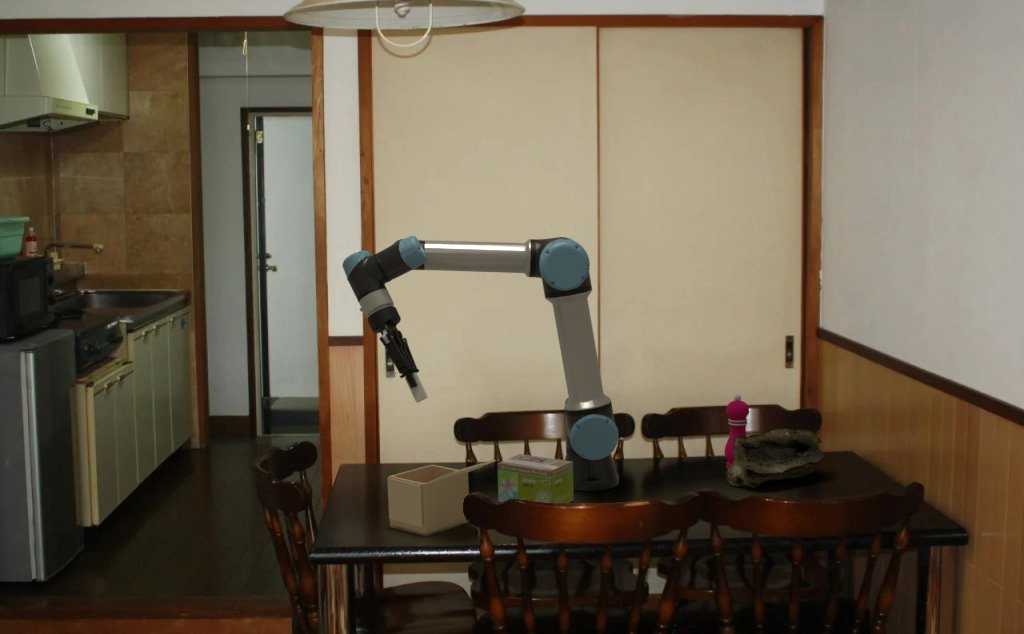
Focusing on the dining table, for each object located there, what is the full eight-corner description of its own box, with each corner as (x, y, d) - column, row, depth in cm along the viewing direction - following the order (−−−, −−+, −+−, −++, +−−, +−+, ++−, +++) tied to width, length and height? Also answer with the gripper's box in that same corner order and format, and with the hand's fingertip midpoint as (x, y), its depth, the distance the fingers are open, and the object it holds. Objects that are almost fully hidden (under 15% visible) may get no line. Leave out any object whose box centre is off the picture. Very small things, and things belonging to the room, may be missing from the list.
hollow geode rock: (817, 491, 316) (794, 443, 325) (841, 465, 307) (816, 416, 315) (726, 502, 306) (704, 452, 314) (747, 476, 296) (724, 425, 305)
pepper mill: (756, 470, 321) (756, 396, 319) (731, 472, 320) (730, 398, 317) (744, 464, 328) (744, 391, 326) (720, 466, 326) (719, 393, 324)
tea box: (497, 524, 280) (495, 461, 278) (521, 513, 288) (519, 452, 286) (552, 533, 272) (551, 469, 270) (575, 522, 280) (574, 459, 278)
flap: (467, 470, 280) (495, 459, 273) (467, 472, 280) (495, 461, 273) (426, 482, 271) (454, 471, 264) (426, 484, 270) (454, 472, 264)
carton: (434, 512, 291) (432, 463, 290) (471, 521, 283) (469, 471, 281) (386, 527, 280) (384, 476, 279) (423, 537, 272) (421, 485, 270)
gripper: (377, 322, 296) (417, 408, 291) (357, 316, 284) (399, 405, 279) (403, 308, 295) (444, 393, 290) (384, 301, 283) (426, 390, 277)
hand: (422, 399), depth 284 cm, fingers closed
